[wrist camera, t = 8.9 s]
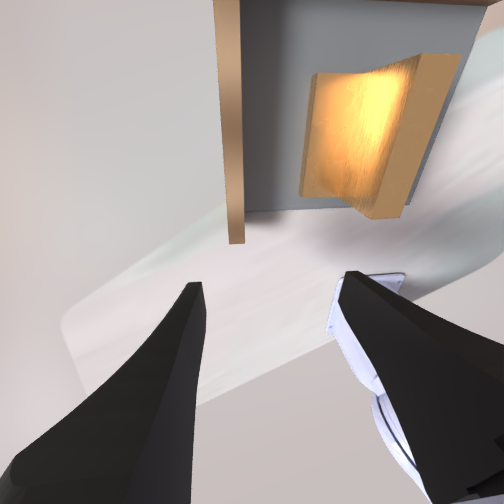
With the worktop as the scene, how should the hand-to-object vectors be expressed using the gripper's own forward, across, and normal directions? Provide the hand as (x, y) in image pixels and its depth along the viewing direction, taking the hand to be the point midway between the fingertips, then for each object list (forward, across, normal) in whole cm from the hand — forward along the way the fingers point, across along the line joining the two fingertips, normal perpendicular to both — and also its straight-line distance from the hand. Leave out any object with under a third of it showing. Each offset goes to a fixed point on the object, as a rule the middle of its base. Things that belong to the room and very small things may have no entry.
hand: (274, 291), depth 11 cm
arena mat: (+10, -7, -7) cm, 14 cm away
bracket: (+10, -6, -6) cm, 13 cm away
